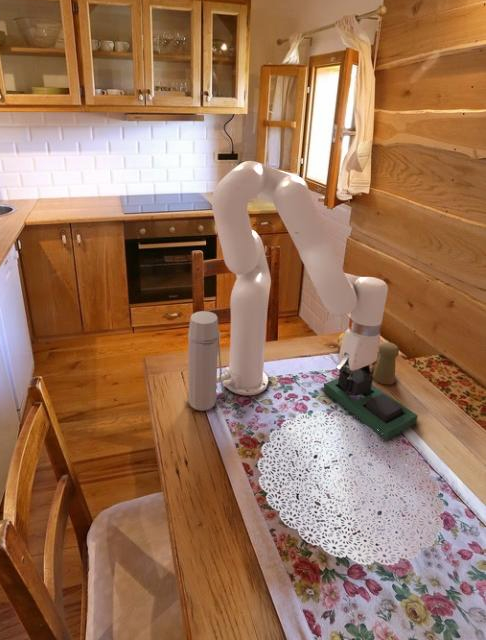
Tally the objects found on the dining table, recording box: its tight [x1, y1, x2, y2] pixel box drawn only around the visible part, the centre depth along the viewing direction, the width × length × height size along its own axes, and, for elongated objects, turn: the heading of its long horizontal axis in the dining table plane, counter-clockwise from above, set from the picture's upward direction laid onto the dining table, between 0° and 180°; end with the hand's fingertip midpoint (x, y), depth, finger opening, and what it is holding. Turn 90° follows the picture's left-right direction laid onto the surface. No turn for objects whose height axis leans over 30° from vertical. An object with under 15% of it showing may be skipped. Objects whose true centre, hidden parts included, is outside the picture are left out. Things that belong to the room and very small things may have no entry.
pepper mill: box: [372, 341, 400, 385], centre depth 115 cm, size 6×6×11 cm
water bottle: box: [187, 310, 223, 412], centre depth 102 cm, size 9×8×25 cm
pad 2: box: [365, 394, 403, 424], centre depth 101 cm, size 6×6×4 cm
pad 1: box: [338, 368, 374, 397], centre depth 108 cm, size 6×6×4 cm
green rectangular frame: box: [323, 377, 419, 441], centre depth 105 cm, size 11×20×2 cm, turn 31°
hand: (354, 384), depth 108 cm, fingers closed on pad 1, 5 cm apart
